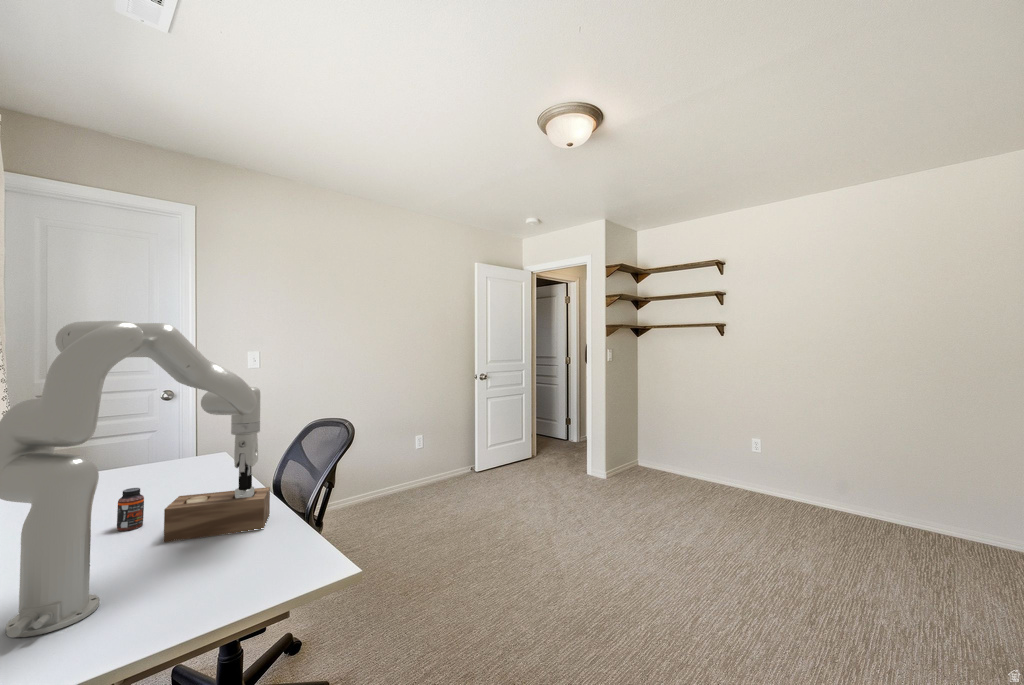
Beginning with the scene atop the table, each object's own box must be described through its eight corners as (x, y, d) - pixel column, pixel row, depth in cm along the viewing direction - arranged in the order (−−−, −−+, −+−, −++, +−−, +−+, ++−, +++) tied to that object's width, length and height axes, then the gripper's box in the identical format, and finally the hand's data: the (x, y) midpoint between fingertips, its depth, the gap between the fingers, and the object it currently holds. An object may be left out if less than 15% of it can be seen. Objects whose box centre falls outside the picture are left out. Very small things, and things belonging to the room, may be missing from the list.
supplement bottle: (127, 532, 126) (128, 493, 126) (111, 531, 127) (112, 491, 127) (148, 524, 132) (149, 487, 132) (132, 523, 133) (133, 485, 133)
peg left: (204, 532, 126) (204, 500, 126) (183, 534, 124) (184, 502, 124) (209, 525, 130) (209, 495, 131) (188, 528, 128) (189, 497, 129)
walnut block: (263, 529, 128) (263, 498, 128) (163, 542, 119) (164, 509, 120) (269, 515, 139) (269, 487, 140) (178, 526, 130) (179, 496, 131)
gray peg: (252, 520, 130) (252, 490, 130) (232, 523, 128) (233, 492, 129) (255, 514, 135) (255, 485, 135) (236, 517, 133) (236, 487, 133)
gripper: (255, 431, 127) (255, 494, 126) (263, 423, 141) (263, 480, 140) (225, 433, 124) (224, 497, 124) (236, 424, 138) (236, 483, 138)
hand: (245, 488), depth 132 cm, fingers closed
